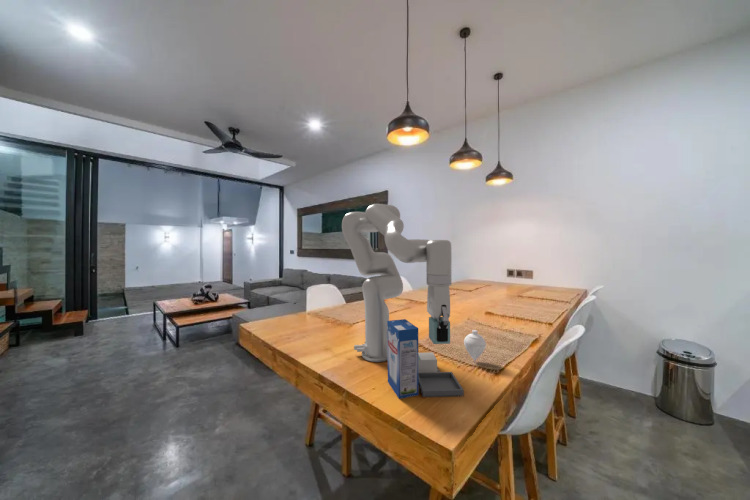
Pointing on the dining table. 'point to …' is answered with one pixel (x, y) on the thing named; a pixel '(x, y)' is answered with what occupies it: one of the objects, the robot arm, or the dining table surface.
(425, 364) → the light grey block
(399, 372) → the milk carton
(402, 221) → the robot arm
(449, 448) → the dining table surface
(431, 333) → the teal block
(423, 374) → the tray
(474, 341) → the spinning top
